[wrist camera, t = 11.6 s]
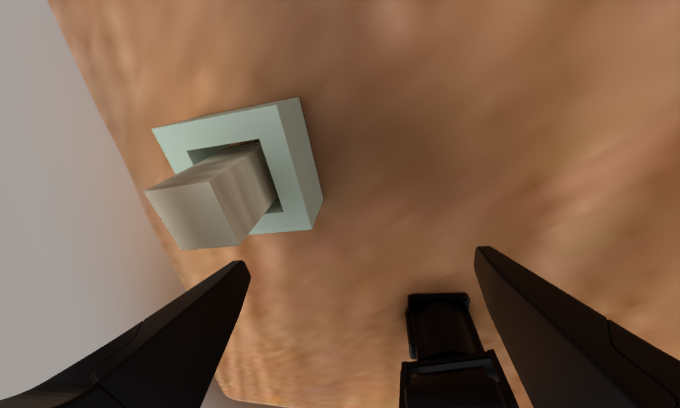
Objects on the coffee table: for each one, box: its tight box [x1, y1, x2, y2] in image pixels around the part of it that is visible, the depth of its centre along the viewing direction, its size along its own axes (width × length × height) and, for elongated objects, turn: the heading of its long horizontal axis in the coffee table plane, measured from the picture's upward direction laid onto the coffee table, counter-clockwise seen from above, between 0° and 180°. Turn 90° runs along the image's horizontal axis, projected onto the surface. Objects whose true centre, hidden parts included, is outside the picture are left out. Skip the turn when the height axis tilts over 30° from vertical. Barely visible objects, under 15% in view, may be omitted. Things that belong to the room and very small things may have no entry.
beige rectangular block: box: [144, 142, 278, 251], centre depth 18 cm, size 4×4×10 cm
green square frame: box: [152, 97, 324, 235], centre depth 20 cm, size 9×9×5 cm
